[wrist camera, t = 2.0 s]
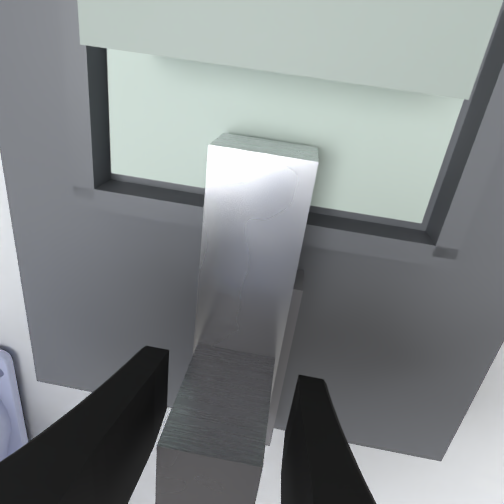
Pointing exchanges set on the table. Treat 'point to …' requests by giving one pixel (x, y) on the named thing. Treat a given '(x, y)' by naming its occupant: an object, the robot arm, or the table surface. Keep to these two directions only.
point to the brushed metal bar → (237, 319)
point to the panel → (189, 248)
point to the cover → (293, 87)
